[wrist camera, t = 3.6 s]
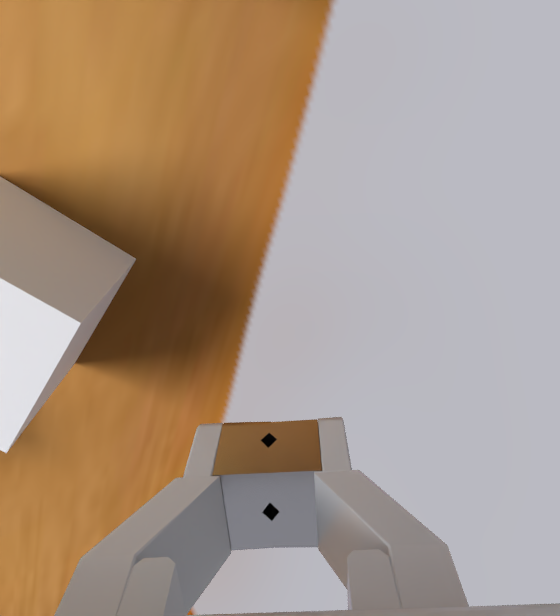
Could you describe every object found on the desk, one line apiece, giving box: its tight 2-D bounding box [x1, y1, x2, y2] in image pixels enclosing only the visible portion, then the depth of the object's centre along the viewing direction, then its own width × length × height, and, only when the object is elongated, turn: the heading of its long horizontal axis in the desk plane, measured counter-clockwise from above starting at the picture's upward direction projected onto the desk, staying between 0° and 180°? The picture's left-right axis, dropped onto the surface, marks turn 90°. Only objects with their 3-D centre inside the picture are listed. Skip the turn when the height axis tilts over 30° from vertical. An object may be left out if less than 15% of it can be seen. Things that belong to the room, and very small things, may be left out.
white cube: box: [0, 176, 136, 453], centre depth 18 cm, size 6×6×6 cm
